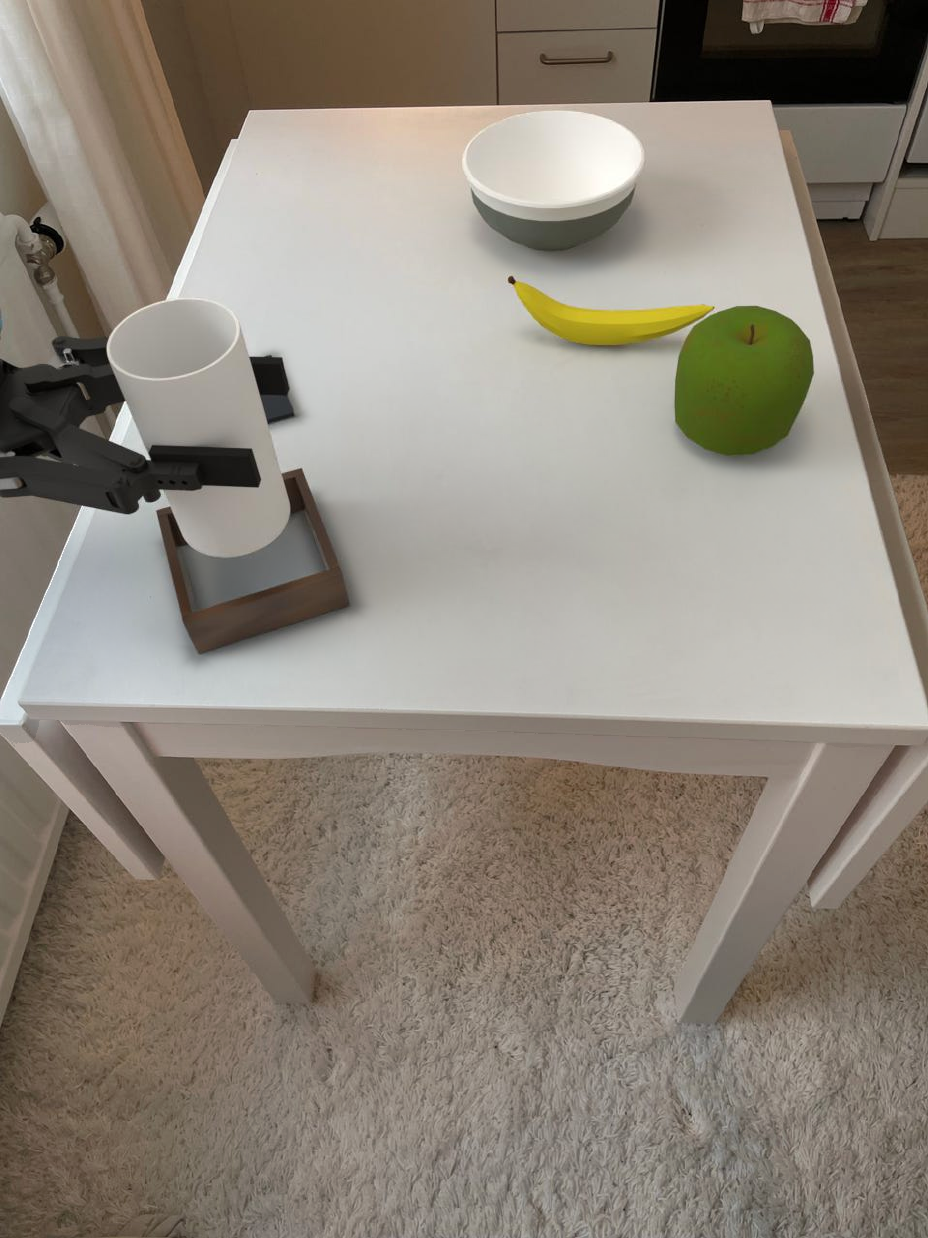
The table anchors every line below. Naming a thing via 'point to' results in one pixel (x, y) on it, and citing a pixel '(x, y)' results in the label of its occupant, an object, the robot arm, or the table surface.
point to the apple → (742, 380)
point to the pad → (276, 407)
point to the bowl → (553, 176)
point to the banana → (605, 319)
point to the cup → (202, 416)
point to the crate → (263, 606)
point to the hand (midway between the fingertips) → (270, 420)
